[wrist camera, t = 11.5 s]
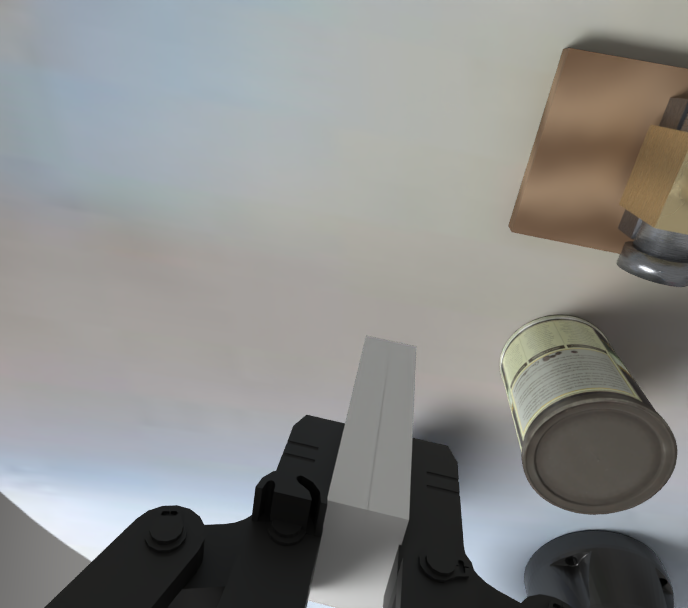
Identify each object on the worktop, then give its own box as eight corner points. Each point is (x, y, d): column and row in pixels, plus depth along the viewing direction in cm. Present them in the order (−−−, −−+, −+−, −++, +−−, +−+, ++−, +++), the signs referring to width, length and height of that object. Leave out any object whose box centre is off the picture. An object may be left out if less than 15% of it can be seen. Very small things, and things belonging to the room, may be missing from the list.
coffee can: (636, 348, 48) (713, 446, 35) (564, 424, 52) (608, 536, 39) (543, 293, 47) (586, 373, 34) (477, 374, 51) (493, 473, 39)
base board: (743, 273, 44) (757, 281, 42) (508, 225, 45) (511, 231, 43) (836, 97, 38) (856, 98, 36) (563, 49, 39) (569, 47, 38)
